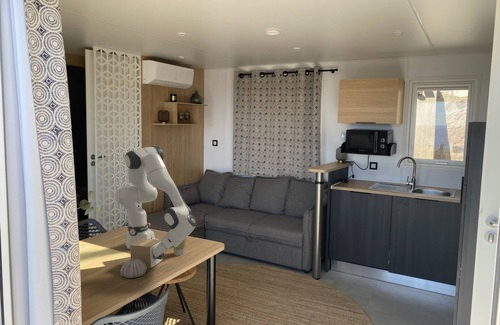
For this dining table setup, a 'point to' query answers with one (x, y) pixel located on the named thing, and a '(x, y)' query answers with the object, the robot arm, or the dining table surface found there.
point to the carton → (143, 250)
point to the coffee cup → (180, 248)
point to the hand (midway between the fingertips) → (157, 254)
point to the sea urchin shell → (133, 268)
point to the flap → (154, 259)
